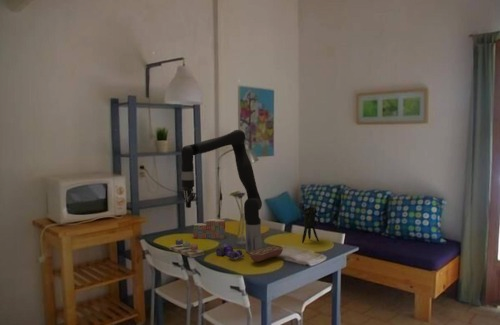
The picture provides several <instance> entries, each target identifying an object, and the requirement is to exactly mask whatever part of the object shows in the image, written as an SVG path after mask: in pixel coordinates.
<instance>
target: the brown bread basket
mask: <svg viewBox="0 0 500 325" xmlns="http://www.w3.org/2000/svg"><path fill="white" fill-rule="evenodd" d="M283 250H284V247H282V246H281V245H269V246H264V247H263V246H262V248H259V249H256V250H253V251H251V252H250V253H248V254H249V257H250V259H251V260H252V261H254V262H256V263H258V262H262V261H264V260H268V259H270V258H274V257H279V256H280V255H281V254H282V253H283Z"/></svg>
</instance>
